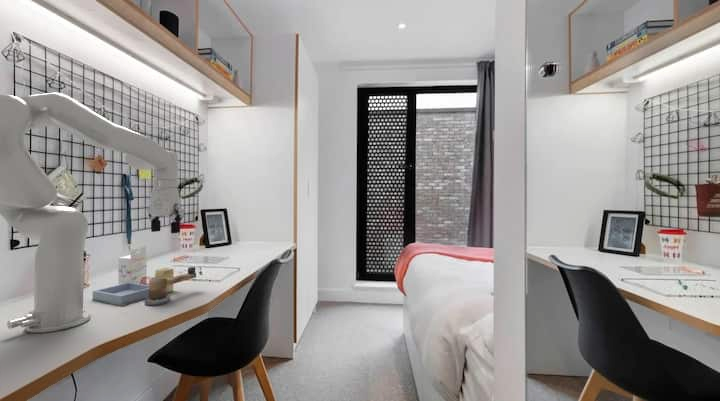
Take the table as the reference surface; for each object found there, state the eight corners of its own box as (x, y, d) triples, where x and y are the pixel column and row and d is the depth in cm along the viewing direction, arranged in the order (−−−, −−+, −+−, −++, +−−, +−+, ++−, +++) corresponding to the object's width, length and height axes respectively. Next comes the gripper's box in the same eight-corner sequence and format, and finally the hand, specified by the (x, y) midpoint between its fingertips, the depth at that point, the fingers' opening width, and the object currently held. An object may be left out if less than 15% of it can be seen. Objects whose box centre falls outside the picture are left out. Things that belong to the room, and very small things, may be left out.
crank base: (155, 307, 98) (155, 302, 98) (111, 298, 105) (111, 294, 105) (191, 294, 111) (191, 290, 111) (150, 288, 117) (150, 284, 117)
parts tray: (120, 305, 99) (121, 296, 98) (92, 300, 103) (92, 291, 103) (155, 295, 109) (155, 286, 109) (128, 290, 114) (129, 282, 114)
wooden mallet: (156, 299, 99) (156, 278, 99) (145, 297, 101) (145, 276, 101) (199, 286, 115) (199, 267, 115) (188, 284, 117) (189, 266, 117)
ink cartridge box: (134, 282, 124) (134, 245, 124) (146, 283, 124) (147, 246, 123) (117, 289, 115) (117, 249, 115) (130, 289, 115) (131, 249, 115)
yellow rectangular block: (163, 293, 111) (163, 271, 111) (155, 292, 113) (155, 270, 113) (173, 290, 115) (173, 268, 115) (165, 289, 116) (165, 267, 116)
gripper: (138, 184, 113) (138, 231, 113) (174, 184, 107) (173, 234, 107) (158, 185, 120) (158, 229, 120) (192, 185, 114) (192, 232, 114)
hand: (165, 232), depth 114 cm, fingers open, 9 cm apart
